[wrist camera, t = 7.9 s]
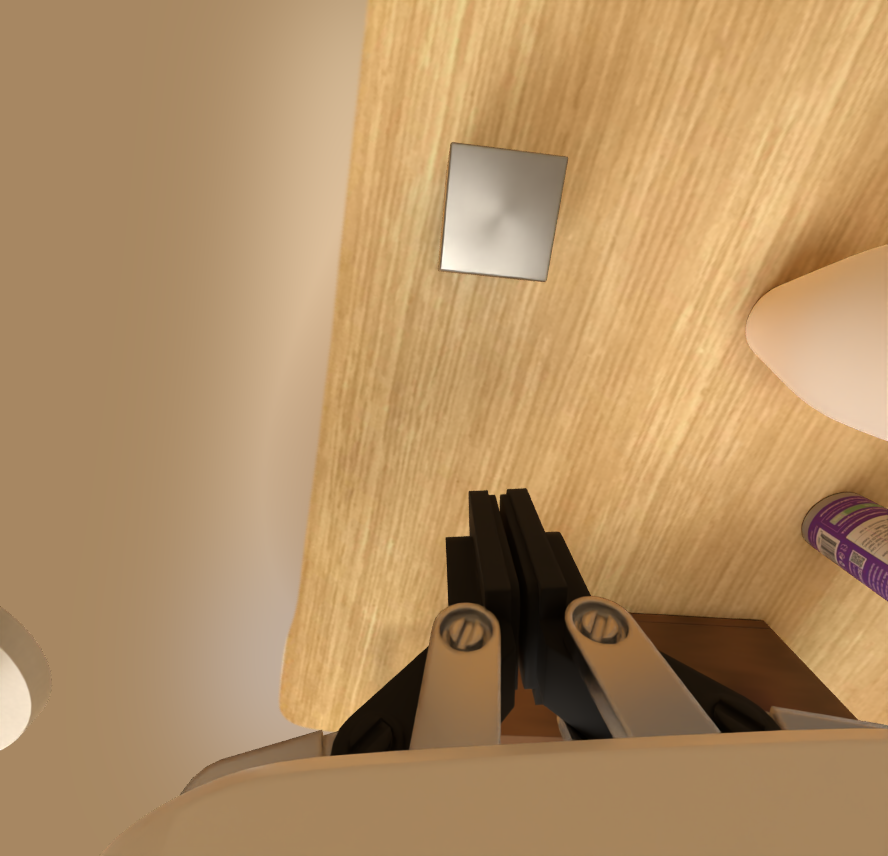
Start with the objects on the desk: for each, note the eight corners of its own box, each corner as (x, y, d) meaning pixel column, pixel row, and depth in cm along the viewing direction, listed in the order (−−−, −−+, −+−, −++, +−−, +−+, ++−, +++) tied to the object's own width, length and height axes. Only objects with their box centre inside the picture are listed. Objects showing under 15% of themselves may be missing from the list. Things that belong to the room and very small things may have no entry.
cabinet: (552, 721, 36) (592, 871, 27) (583, 610, 31) (644, 746, 22) (711, 727, 37) (801, 875, 28) (763, 620, 32) (892, 754, 23)
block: (524, 280, 23) (546, 282, 18) (437, 270, 22) (439, 270, 18) (539, 180, 21) (569, 156, 16) (446, 169, 21) (450, 141, 16)
